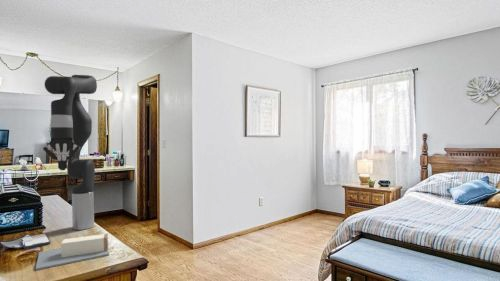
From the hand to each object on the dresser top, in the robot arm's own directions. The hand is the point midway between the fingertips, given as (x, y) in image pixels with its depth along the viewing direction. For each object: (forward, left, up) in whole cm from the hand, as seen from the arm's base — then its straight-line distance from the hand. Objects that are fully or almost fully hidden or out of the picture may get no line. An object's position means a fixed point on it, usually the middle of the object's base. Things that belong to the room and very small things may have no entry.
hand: (62, 170), depth 117 cm
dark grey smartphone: (-14, -10, -32) cm, 36 cm away
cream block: (+11, 0, -28) cm, 30 cm away
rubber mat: (+11, +3, -31) cm, 33 cm away
